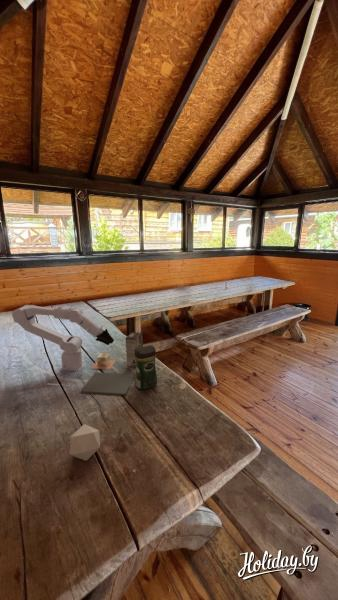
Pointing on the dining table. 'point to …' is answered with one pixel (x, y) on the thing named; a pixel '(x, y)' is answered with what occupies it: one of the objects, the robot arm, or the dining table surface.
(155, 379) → the coffee jar
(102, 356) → the birch block
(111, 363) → the tile
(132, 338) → the coffee box
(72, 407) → the dining table surface
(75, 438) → the die
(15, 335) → the dining table surface
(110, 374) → the mat
